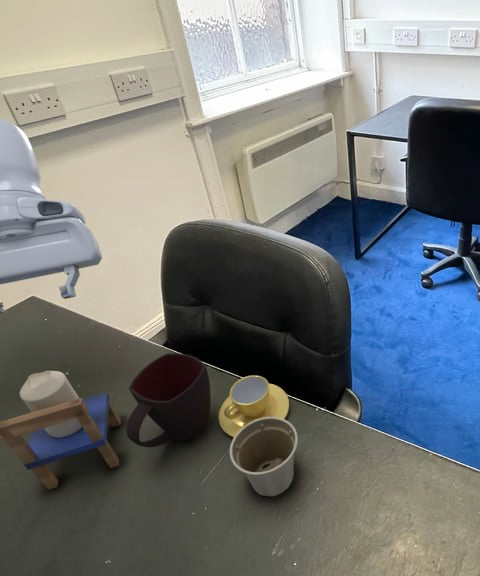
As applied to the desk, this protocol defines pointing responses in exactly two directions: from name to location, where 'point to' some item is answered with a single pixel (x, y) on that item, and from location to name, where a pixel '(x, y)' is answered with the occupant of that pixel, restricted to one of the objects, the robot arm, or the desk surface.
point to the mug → (171, 398)
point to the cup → (252, 403)
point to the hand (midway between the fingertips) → (33, 305)
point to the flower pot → (266, 454)
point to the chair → (49, 449)
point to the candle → (50, 398)
